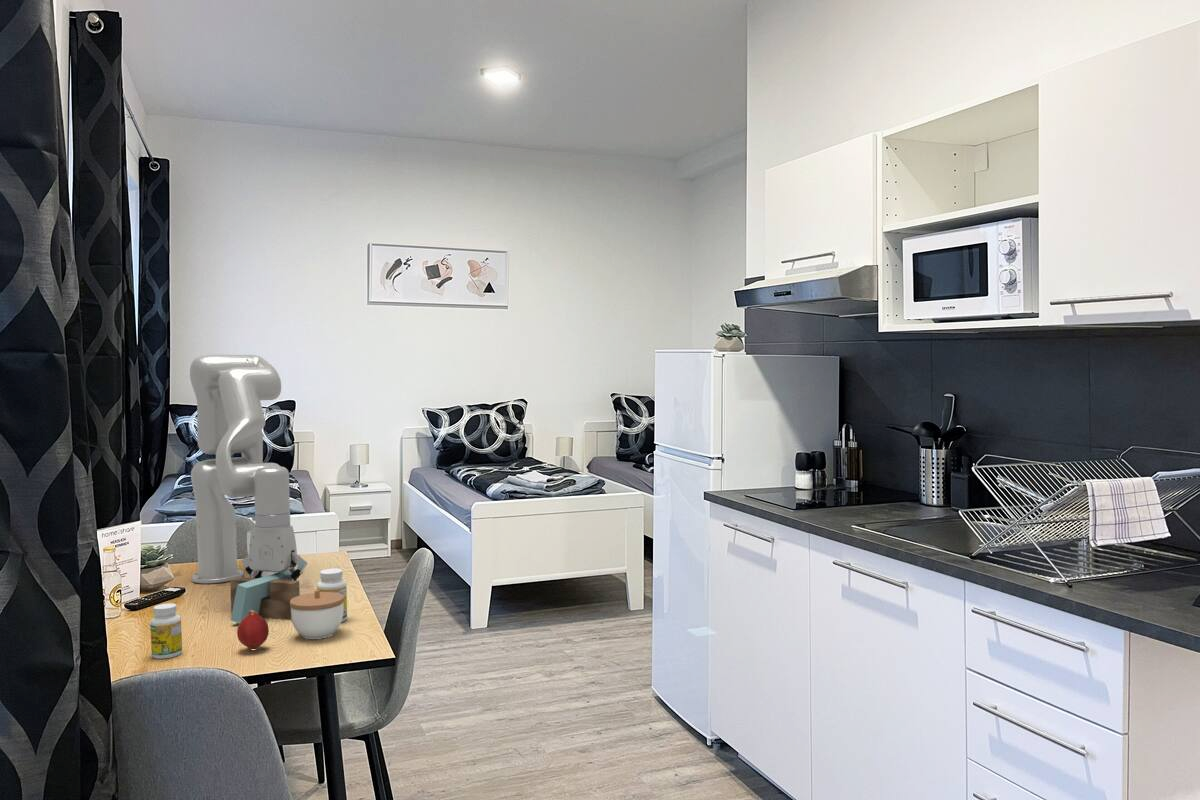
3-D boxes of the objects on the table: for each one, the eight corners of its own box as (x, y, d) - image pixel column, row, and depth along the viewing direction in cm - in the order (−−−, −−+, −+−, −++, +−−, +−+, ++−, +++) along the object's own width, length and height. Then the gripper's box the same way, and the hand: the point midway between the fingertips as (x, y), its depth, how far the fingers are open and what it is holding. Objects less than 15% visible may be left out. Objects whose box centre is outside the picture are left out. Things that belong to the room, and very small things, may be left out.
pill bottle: (319, 617, 195) (318, 568, 195) (348, 615, 196) (347, 566, 196) (316, 625, 189) (314, 574, 189) (346, 623, 190) (344, 573, 190)
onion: (243, 645, 176) (242, 606, 176) (272, 644, 177) (271, 605, 176) (233, 655, 170) (232, 614, 170) (264, 654, 171) (263, 613, 170)
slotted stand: (231, 615, 198) (230, 579, 198) (238, 612, 201) (237, 577, 200) (293, 619, 194) (292, 583, 194) (300, 616, 196) (299, 580, 196)
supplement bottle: (188, 651, 173) (186, 603, 173) (167, 660, 168) (165, 610, 167) (166, 649, 175) (164, 601, 174) (144, 658, 169) (143, 608, 169)
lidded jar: (299, 628, 188) (297, 584, 187) (350, 626, 188) (349, 583, 188) (284, 644, 177) (282, 598, 176) (338, 642, 177) (337, 596, 177)
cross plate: (240, 623, 189) (247, 587, 189) (230, 620, 190) (237, 584, 190) (286, 606, 205) (293, 573, 204) (278, 603, 205) (284, 570, 205)
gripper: (229, 522, 201) (231, 598, 201) (296, 525, 196) (298, 602, 197) (250, 516, 208) (253, 590, 209) (315, 519, 203) (317, 594, 204)
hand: (275, 595), depth 203 cm, fingers open, 8 cm apart
